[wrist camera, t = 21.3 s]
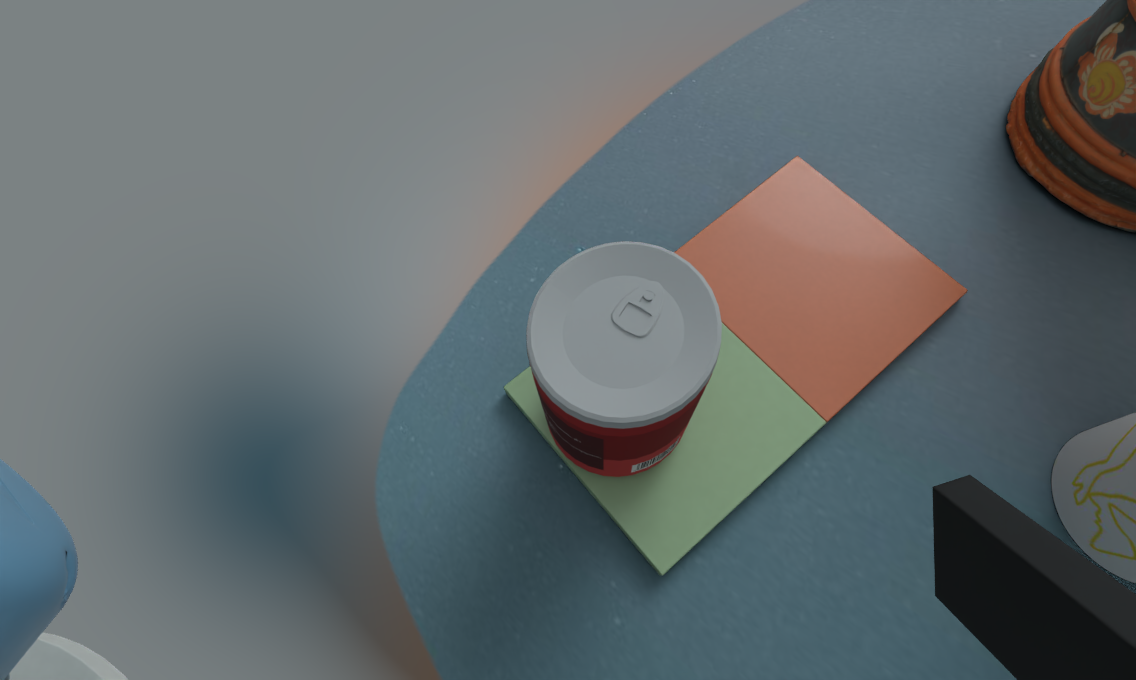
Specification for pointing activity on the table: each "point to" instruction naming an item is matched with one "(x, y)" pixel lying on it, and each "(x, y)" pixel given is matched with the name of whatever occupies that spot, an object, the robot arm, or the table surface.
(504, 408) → the table surface
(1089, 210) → the tankard
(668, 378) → the canned food
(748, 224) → the board
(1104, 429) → the yellow-scribbled white cylinder
